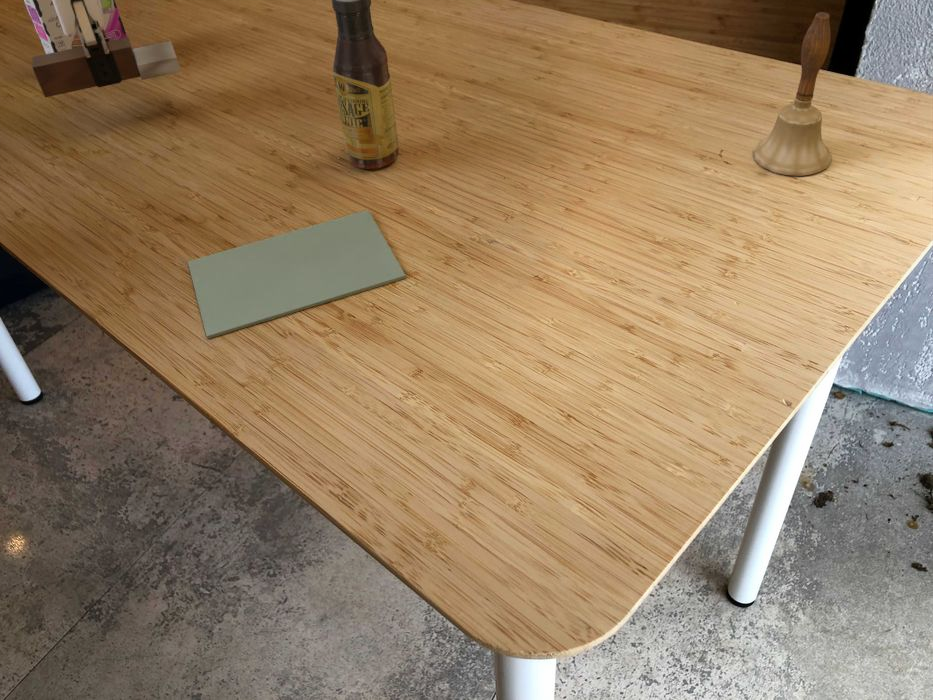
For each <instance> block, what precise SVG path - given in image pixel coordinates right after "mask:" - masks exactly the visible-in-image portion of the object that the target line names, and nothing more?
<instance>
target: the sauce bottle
mask: <svg viewBox="0 0 933 700" xmlns="http://www.w3.org/2000/svg"><path fill="white" fill-rule="evenodd" d="M331 4H332V5H331V6H332V9H333V11H334V14H335V20H336V26H337V38H336V47H335V52H334V61H333V67H332V74H333V79H334V86H335V91H336V98H337V104H338V110H339V115H340V121H341V126H342V133H343V139H344V144H345V150H346V152H347V156H348V159H349V161H350V163H351V164H352V165H353V166H355V167H356V168H359V169H364V170H370V171H371V170H372V171H373V170H379V169H381V168H385V167H387V166H389V165H391V164H392V163H394V162H395V161H396V159H397V158H398V155H399V140H398V139H399V138H398V129H397V121H396V114H395V106H394V98H393V96H394V95H393V89H392V88H393V87H392V81H391V74H390V72H389V71H390V70H389V63H388V56H387V55H388V54H387V50H386V49H385V47H384V46H383V44H382V43H381V41H380V40H379V39H378V38H377V36H376V35H375V32H374V30H375V29H374V26H373V20H372V13H371V5H372V0H331Z"/></svg>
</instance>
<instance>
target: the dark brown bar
mask: <svg viewBox="0 0 933 700" xmlns="http://www.w3.org/2000/svg"><path fill="white" fill-rule="evenodd" d="M106 44H107V47H108V50H109V51H112V54H113V57H114V60H115V62H116V65H117V68H118V71H119V73H120V76H121V80H122V81H121V82H123V81H127V80H131V79H136V78H140V79H141V81H145V80H149V79H154V78H159V77H162V76H167V75H172V74H176V73H181V72H182V71H181V67H180V64H179V60H178V56H177V55H176V52H175V48H174V46H173V42H172V40H168V41H163V42H159V43H158V42H157V43H153V44H149V45H143V46H139V47H135V48H133V46H132V43H131V40H130V38H129V36H127V37H126V38H121V39H117V40H112V41H107V42H106ZM85 56H86V54H85V52H84V49H83V47H78V48H73V49H69V50H64V51H59V52H54V53H49V54H46V53H45V54H40V55H36V56H32V57H31V65H32V66H31V69H32V71H33V73H34V76H35V78H36V80H37V82H38V84H39V87H40V90H41V91H42V94H43V96H44V98H50V97H55V96H58V95H64V94H68V93H72V92H77V91H81V90H86V89H90V88H95V87H97V86H96V84H95V82H94V79H93V76H92V74H91V71H90V69H89V66H88V63H87V61H86V58H85Z"/></svg>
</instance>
